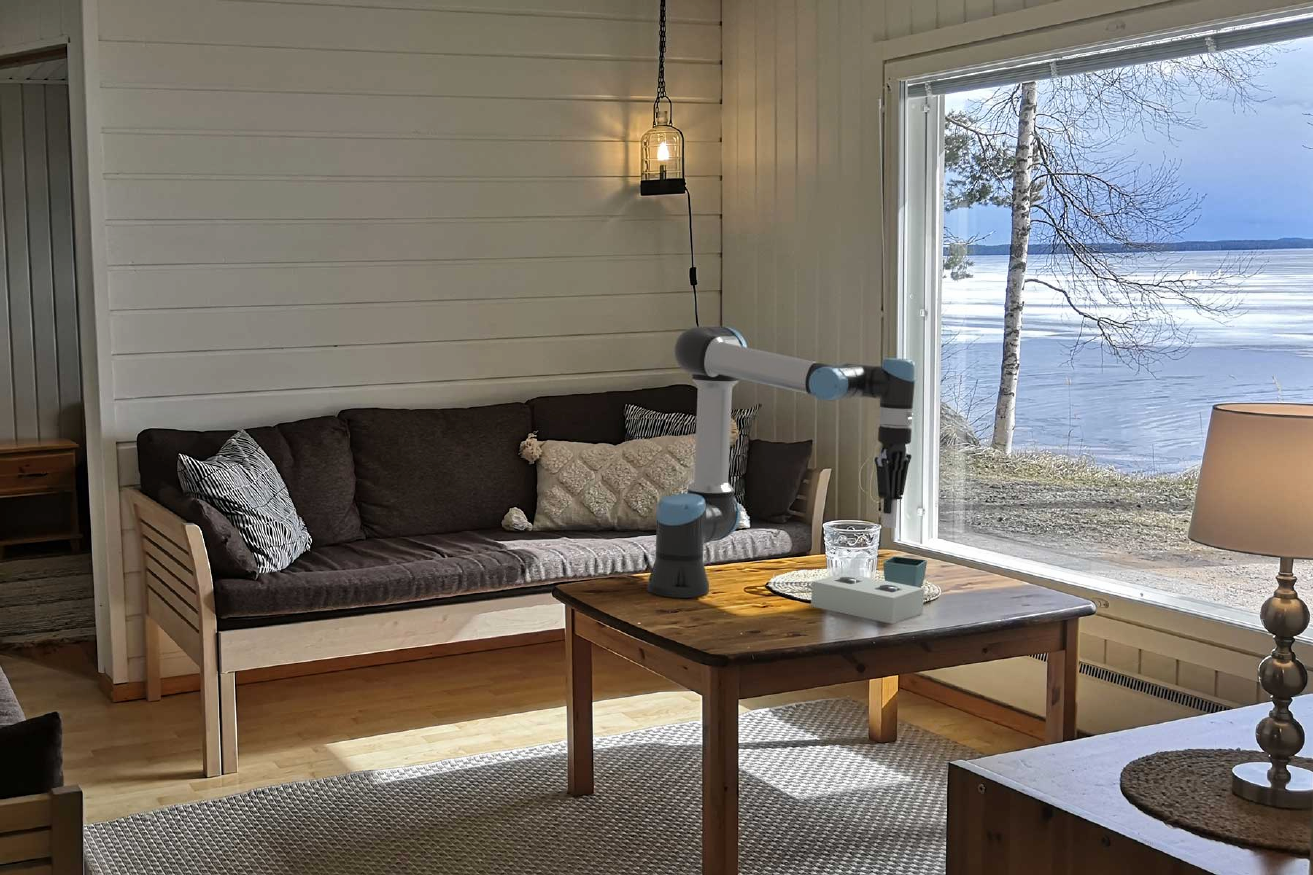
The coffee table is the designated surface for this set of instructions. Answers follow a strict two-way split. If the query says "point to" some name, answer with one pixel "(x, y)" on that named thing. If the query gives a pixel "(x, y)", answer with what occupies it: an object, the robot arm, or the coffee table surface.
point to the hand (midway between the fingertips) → (889, 526)
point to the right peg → (888, 588)
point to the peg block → (867, 598)
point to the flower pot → (905, 571)
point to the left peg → (847, 580)
